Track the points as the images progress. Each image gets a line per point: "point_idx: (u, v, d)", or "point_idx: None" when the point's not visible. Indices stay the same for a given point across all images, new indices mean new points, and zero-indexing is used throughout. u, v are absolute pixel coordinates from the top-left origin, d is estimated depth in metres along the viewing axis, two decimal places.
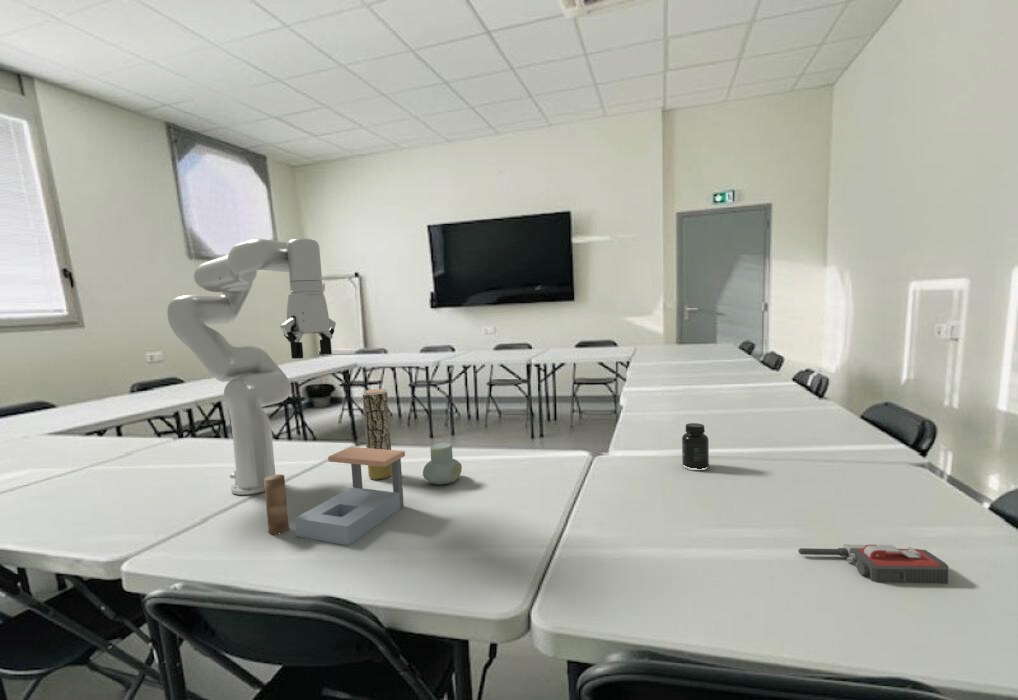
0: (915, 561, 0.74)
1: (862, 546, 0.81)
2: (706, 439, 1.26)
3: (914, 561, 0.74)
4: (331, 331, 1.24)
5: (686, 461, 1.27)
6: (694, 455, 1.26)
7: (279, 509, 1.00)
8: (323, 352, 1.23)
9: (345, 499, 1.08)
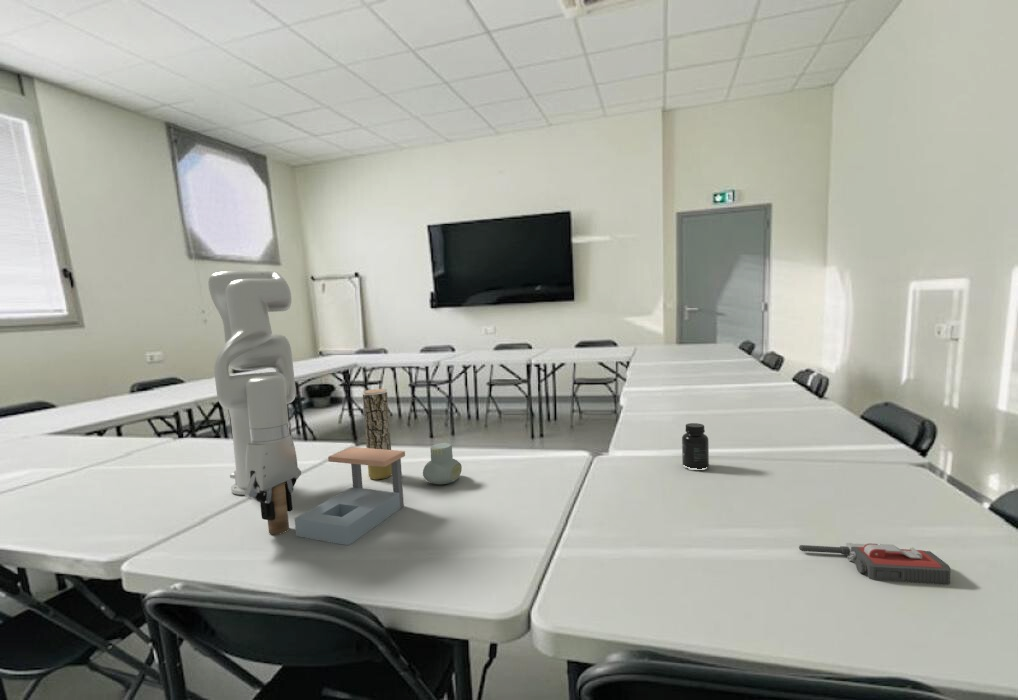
0: (916, 561, 0.74)
1: (865, 545, 0.81)
2: (706, 439, 1.26)
3: (915, 561, 0.74)
4: (292, 482, 1.05)
5: (686, 461, 1.27)
6: (694, 455, 1.26)
7: (279, 509, 1.00)
8: None
9: (345, 499, 1.08)
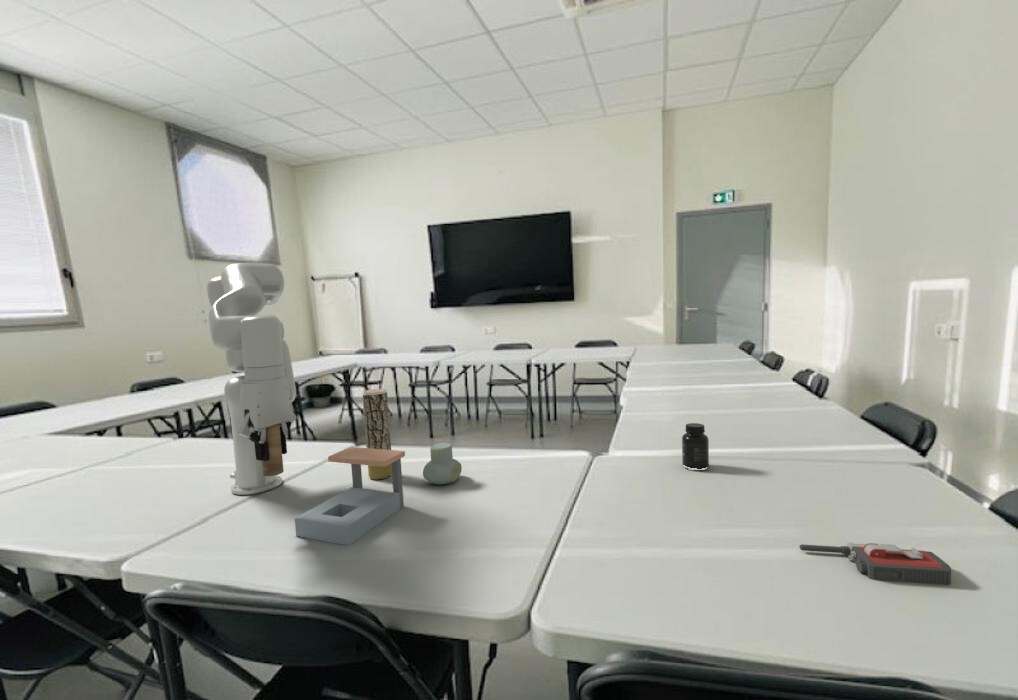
0: (916, 561, 0.74)
1: None
2: (706, 439, 1.26)
3: (915, 561, 0.74)
4: (287, 425, 1.04)
5: (686, 461, 1.27)
6: (694, 455, 1.26)
7: (273, 451, 0.99)
8: None
9: (345, 499, 1.08)
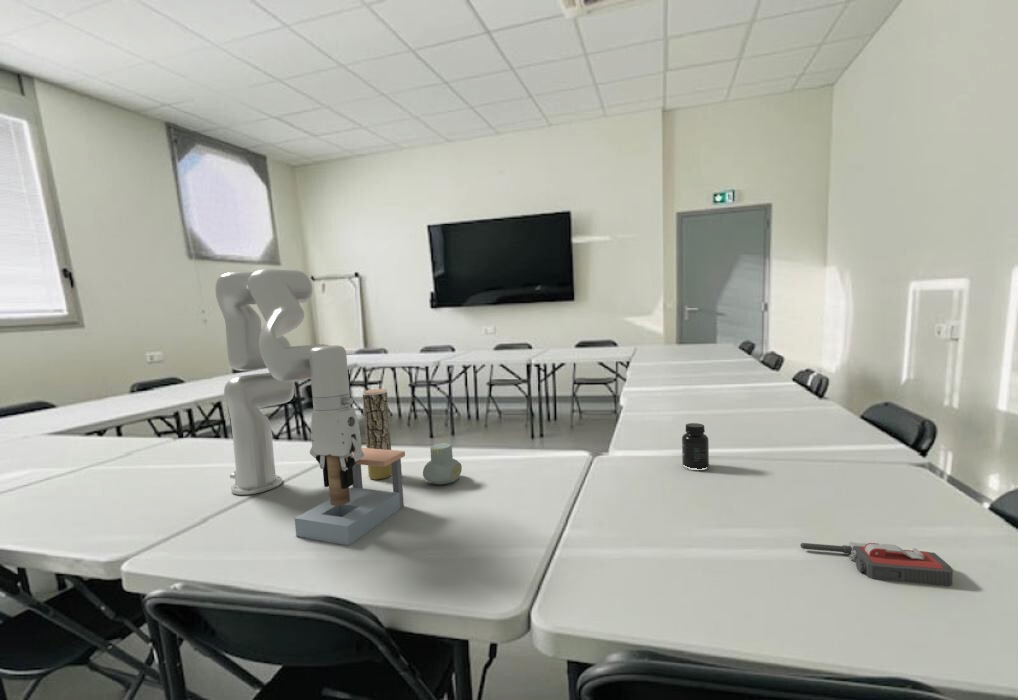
0: (917, 561, 0.74)
1: None
2: (706, 439, 1.26)
3: (916, 562, 0.74)
4: (349, 461, 0.98)
5: (686, 461, 1.27)
6: (694, 455, 1.26)
7: None
8: None
9: None
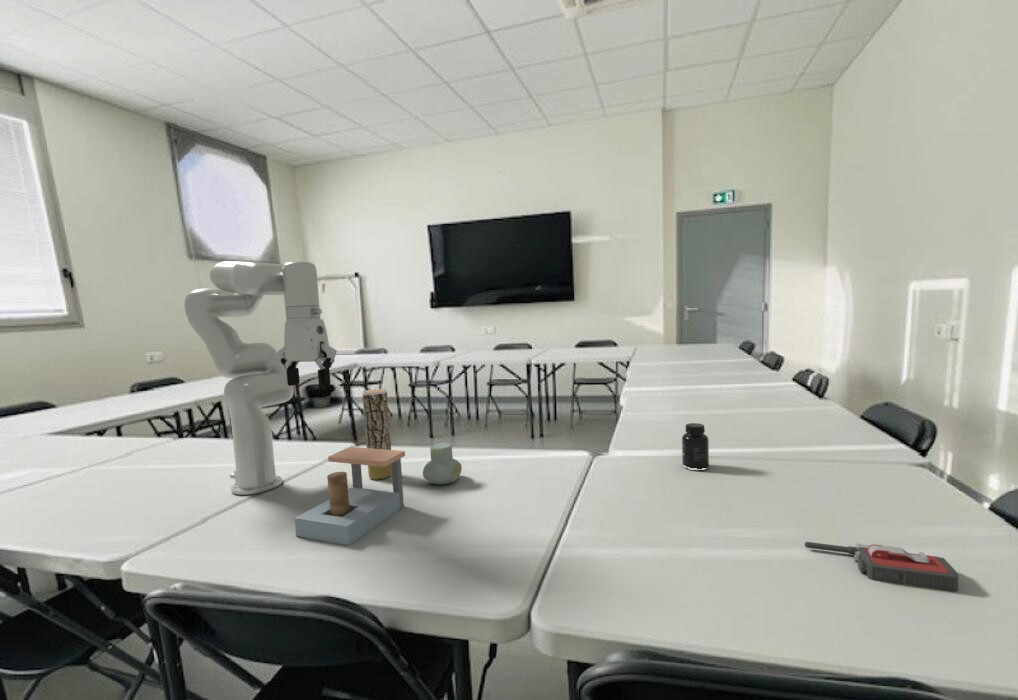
0: (921, 565, 0.73)
1: None
2: (706, 439, 1.26)
3: (920, 565, 0.73)
4: (325, 360, 1.08)
5: (686, 461, 1.27)
6: (694, 455, 1.26)
7: (330, 506, 1.00)
8: None
9: None
